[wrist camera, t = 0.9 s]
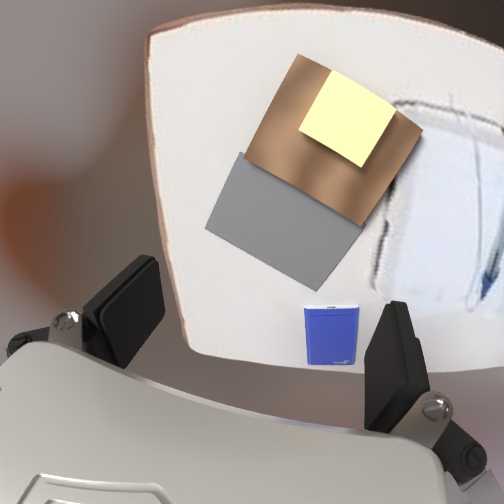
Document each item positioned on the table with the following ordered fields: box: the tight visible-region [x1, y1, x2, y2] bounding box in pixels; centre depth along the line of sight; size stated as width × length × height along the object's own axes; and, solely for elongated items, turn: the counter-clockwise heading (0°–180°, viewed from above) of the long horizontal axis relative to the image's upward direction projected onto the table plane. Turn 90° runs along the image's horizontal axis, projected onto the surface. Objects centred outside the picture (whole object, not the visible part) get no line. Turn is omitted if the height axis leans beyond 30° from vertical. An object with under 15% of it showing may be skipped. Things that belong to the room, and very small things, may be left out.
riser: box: [243, 54, 423, 227], centre depth 30 cm, size 16×14×2 cm
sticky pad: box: [299, 70, 396, 167], centre depth 26 cm, size 8×8×2 cm
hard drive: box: [304, 305, 359, 365], centre depth 43 cm, size 2×8×12 cm
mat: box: [205, 152, 366, 291], centre depth 37 cm, size 18×12×1 cm, turn 64°
